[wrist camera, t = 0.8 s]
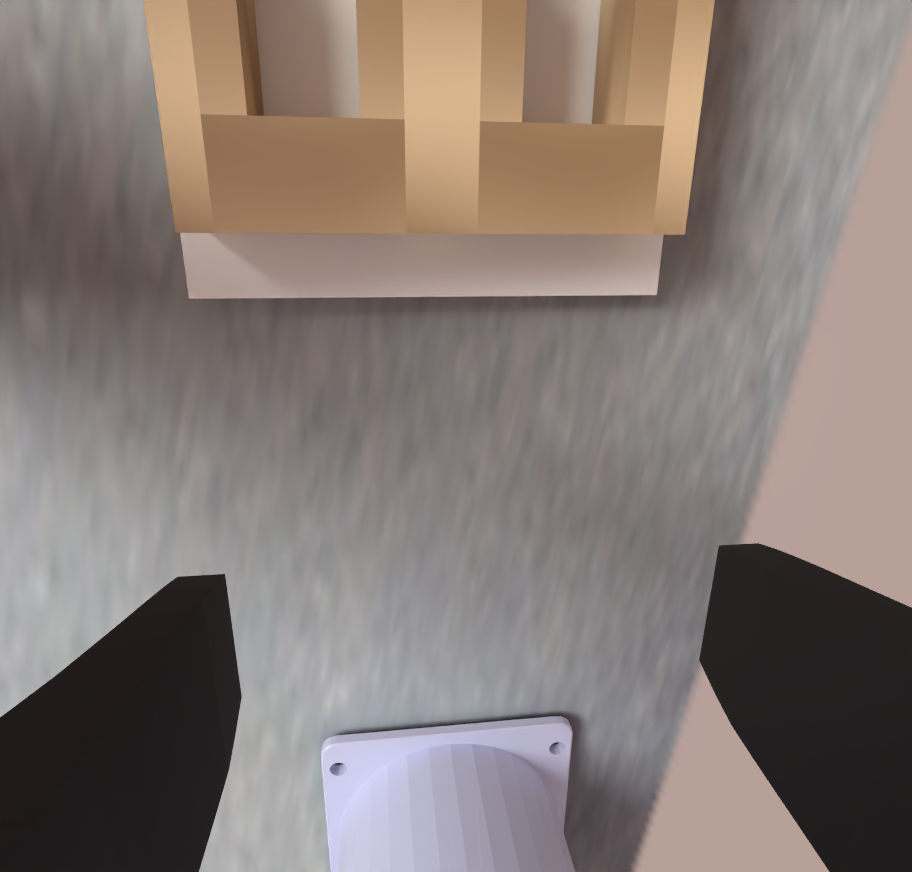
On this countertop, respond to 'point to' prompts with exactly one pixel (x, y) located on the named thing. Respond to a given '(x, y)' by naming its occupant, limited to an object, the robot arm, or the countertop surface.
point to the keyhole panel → (432, 125)
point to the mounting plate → (418, 255)
